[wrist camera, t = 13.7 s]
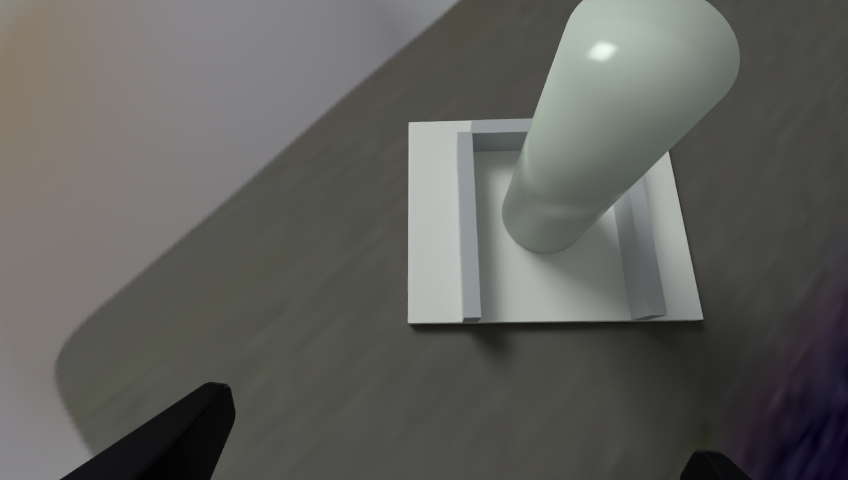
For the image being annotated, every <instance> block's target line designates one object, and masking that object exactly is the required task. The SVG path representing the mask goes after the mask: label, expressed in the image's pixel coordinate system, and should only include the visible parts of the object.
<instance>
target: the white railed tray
mask: <svg viewBox="0 0 848 480" xmlns="http://www.w3.org/2000/svg"><path fill="white" fill-rule="evenodd" d="M532 120H533V119H501V120H472V121H443V122H409V213H408V324H472V323H557V322H642V321H698V320H703V315H702V310H701V305H700V301H699V296H698V291H697V286H696V281H695V277H694V272H693V267H692V262H691V257H690V253H689V248H688V243H687V238H686V233H685V228H684V224H683V219H682V214H681V209H680V204H679V200H678V195H677V190H676V185H675V180H674V175H673V171H672V166H671V161H670V156H669V151H668V152H667V153H666V154H665V155H664V156H663V157H662V158H661V159H660V160H658V161H657V162H656V163H655V164H654V165H653V166H652V167H651V168H650V169H649V170H648V171H647V172H646V173H645V174H644V175H643V176H642V177H641V178H640V179H639V180H638V181H637V182H636V183H635V184H634V185H633V186H632V187H631V188H630V189H629V190H628V191H627V192H626V193H625V194H624V195H623V196H622V197H621V198H620V199H619V200H618V201H617V202H616V203H614V204H613V205H612V206H611V207H610V208H609V209H608V210H607V211H606V212H605V213H604V214H603V215H602V216H601V217H600V218H599V219H598V220H597V221H596V222H595V223H594V224H593V225H592V226H591V227H590V228H589V229H588V230H587V231H586V232H585V233H584V234H583V235H582V236H581V237H580V238H579V239H578V240H577V241H576V242H575V243H573V244H572V245H571V246H570V247H568V248H566V249H564V250H562V251H559V252H555V253H538V252H534V251H530V250H528V249H526V248H524V247H522V246H520V245H519V244H518V243H516V242H515V241H514V240H513V239H512V238H511V236H510V235H509V234H508V232H507V231H506V229H505V226H504V224H503V220H502V204H503V200H504V198H505V195H506V192H507V189H508V186H509V184H510V181H511V178H512V175H513V172H514V170H515V167H516V164H517V161H518V159H519V156H520V153H521V150H522V147H523V145H524V142H525V139H526V136H527V134H528V131H529V128H530V125H531V122H532Z"/></svg>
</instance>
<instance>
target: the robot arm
mask: <svg viewBox="0 0 848 480" xmlns="http://www.w3.org/2000/svg"><path fill="white" fill-rule="evenodd" d="M235 414H236V413H235V407H234V402H233V397H232V393H231V388H230V387H229V386H228V384H223V383H216V382H208V383H205V384H203V385H202V386H200V387H199V388H197V389H196V390H194V391H193V392H191V393H190V394H188V395H187V396H185V397H184V398H182V399H181V400H179V401H178V402H176V403H175V404H173V405H172V406H170V407H169V408H167V409H166V410H164V411H163V412H161V413H160V414H158V415H157V416H155V417H154V418H152V419H151V420H149V421H148V422H146V423H145V424H143V425H142V426H140V427H138V428H137V429H135V430H134V431H132V432H131V433H129V434H128V435H126V436H125V437H123V438H122V439H120V440H119V441H117V442H116V443H114V444H113V445H111V446H110V447H108V448H107V449H105V450H104V451H102V452H101V453H99V454H98V455H96V456H95V457H93V458H92V459H90V460H89V461H87V462H86V463H84V464H83V465H81V466H80V467H78V468H77V469H75V470H74V471H72V472H71V473H69V474H68V475H66V476H65V477H63V478H62V479H60V480H210V479H211V477H212V474H213V472H214V469H215V467H216V465H217V462H218V460H219V457H220V455H221V453H222V450H223V448H224V446H225V443H226V441H227V438H228V436H229V434H230V431H231V429H232V427H233V424H234V421H235ZM680 480H752V479H750V478H749V477H748V476H747V475H746V474H745V473H744V472H743V471H742V470H741V469H740V468H739V467H737V466H736V465H735V464H734V463H733V462H732V461H731V460H730V459H729V458H728V457H726V456H725V455H724V454H722V453H720V452H717V451H710V450H703V449H698V450H696V451H694V452H693V454H692V456H691V457H690V459H689V461H688V463H687V464H686V466H685V468H684V470H683V471H682V473H681V476H680Z"/></svg>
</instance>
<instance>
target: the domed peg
mask: <svg viewBox="0 0 848 480" xmlns="http://www.w3.org/2000/svg"><path fill="white" fill-rule="evenodd" d="M739 64H740V52H739V47H738V42H737V40H736V37H735V34H734V32H733V31H732V29H731V27H730V25H729V24H728V22H727V21H726V20H725V18H724V17H723V16H722V15H721V14H720V13H719V12H718V11H717V10H716V9H715V8H714V7H713V6H712V5H710V4H709V3H708V2H707V1H705V0H583V1H582V2H581V3H580V4H579V5H578V6H577V7H576V9H575V10H574V11H573V13H572V14H571V16H570V18H569V20H568V22H567V25H566V28H565V31H564V33H563V36H562V39H561V42H560V45H559V47H558V50H557V53H556V56H555V58H554V61H553V64H552V67H551V70H550V72H549V75H548V78H547V81H546V84H545V86H544V89H543V92H542V95H541V97H540V100H539V103H538V106H537V109H536V111H535V114H534V117H533V120H532V122H531V125H530V128H529V131H528V134H527V136H526V139H525V142H524V145H523V147H522V150H521V153H520V156H519V159H518V161H517V164H516V167H515V170H514V172H513V175H512V178H511V181H510V184H509V186H508V189H507V192H506V195H505V198H504V200H503V204H502V220H503V224H504V226H505V229H506V231H507V232H508V234H509V235H510V236H511V238H512V239H513V240H514V241H515V242H516V243H518V244H519V245H520V246H522V247H524V248H526V249H528V250H530V251H534V252H538V253H555V252H559V251H562V250H564V249H566V248H568V247H570V246H571V245H572V244H573V243H575V242H576V241H577V240H578V239H579V238H580V237H581V236H582V235H583V234H584V233H585V232H586V231H587V230H588V229H589V228H590V227H591V226H592V225H593V224H594V223H595V222H596V221H597V220H598V219H599V218H600V217H601V216H602V215H603V214H604V213H605V212H606V211H607V210H608V209H609V208H610V207H611V206H612V205H613V204H614V203H616V202H617V201H618V200H619V199H620V198H621V197H622V196H623V195H624V194H625V193H626V192H627V191H628V190H629V189H630V188H631V187H632V186H633V185H634V184H635V183H636V182H637V181H638V180H639V179H640V178H641V177H642V176H643V175H644V174H645V173H646V172H647V171H648V170H649V169H650V168H651V167H652V166H653V165H654V164H655V163H656V162H657V161H658V160H660V159H661V158H662V157H663V156H664V155H665V154H666V153H667V152H668V151H669V150H670V149H671V148H672V147H673V146H674V145H675V144H676V143H677V142H678V141H679V140H680V139H681V138H682V137H683V136H684V135H685V134H686V133H687V132H688V131H689V130H690V129H691V128H692V127H693V126H694V125H695V124H696V123H697V122H698V121H699V120H700V119H701V118H702V117H704V116H705V115H706V114H707V113H708V112H709V111H710V110H711V109H712V108H713V107H714V106H715V105H716V104H717V103H718V102H719V101H720V100H721V99H722V98H723V97H724V96H725V95H726V94H727V92H728V91H729V90H730V89H731V87H732V85H733V83H734V82H735V80H736V77H737V74H738V71H739Z"/></svg>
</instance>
